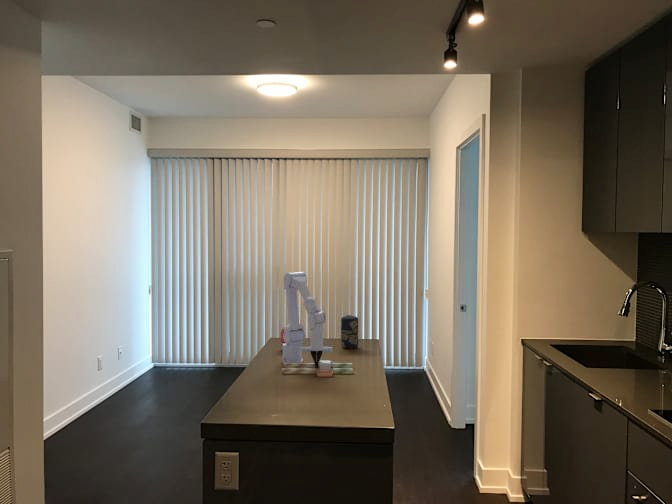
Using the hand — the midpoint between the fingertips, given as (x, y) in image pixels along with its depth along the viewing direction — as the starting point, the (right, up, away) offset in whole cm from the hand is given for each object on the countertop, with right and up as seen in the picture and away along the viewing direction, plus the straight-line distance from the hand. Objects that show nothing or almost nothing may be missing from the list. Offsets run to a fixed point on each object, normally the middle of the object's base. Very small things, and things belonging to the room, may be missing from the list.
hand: (316, 367), depth 227 cm
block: (+4, -1, 0) cm, 4 cm away
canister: (+16, 0, +46) cm, 49 cm away
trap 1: (+4, -1, +8) cm, 9 cm away
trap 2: (+4, -2, -8) cm, 9 cm away
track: (+1, -1, 0) cm, 1 cm away
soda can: (-18, 0, +40) cm, 44 cm away
